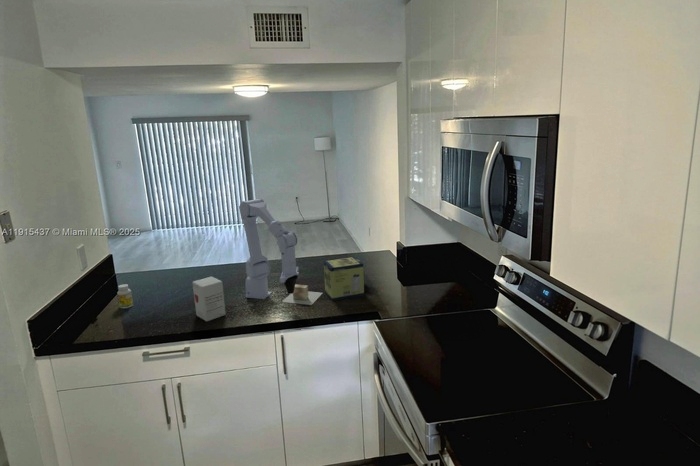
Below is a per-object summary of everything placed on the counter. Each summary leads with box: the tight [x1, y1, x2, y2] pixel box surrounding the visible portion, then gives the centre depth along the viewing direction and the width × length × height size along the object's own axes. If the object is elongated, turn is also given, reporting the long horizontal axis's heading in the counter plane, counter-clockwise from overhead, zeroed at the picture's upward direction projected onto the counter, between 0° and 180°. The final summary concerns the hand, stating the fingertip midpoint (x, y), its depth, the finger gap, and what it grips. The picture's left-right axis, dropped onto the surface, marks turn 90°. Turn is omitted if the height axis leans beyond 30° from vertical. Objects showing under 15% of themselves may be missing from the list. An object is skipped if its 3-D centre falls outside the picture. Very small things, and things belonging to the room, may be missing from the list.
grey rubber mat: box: [281, 290, 323, 306], centre depth 203 cm, size 14×14×1 cm
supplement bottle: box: [116, 283, 134, 309], centre depth 198 cm, size 5×5×10 cm
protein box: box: [323, 256, 365, 301], centre depth 203 cm, size 10×16×16 cm
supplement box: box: [192, 276, 226, 322], centre depth 186 cm, size 9×9×15 cm
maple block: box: [293, 283, 309, 301], centre depth 200 cm, size 6×3×6 cm, turn 73°
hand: (290, 292), depth 190 cm, fingers closed
